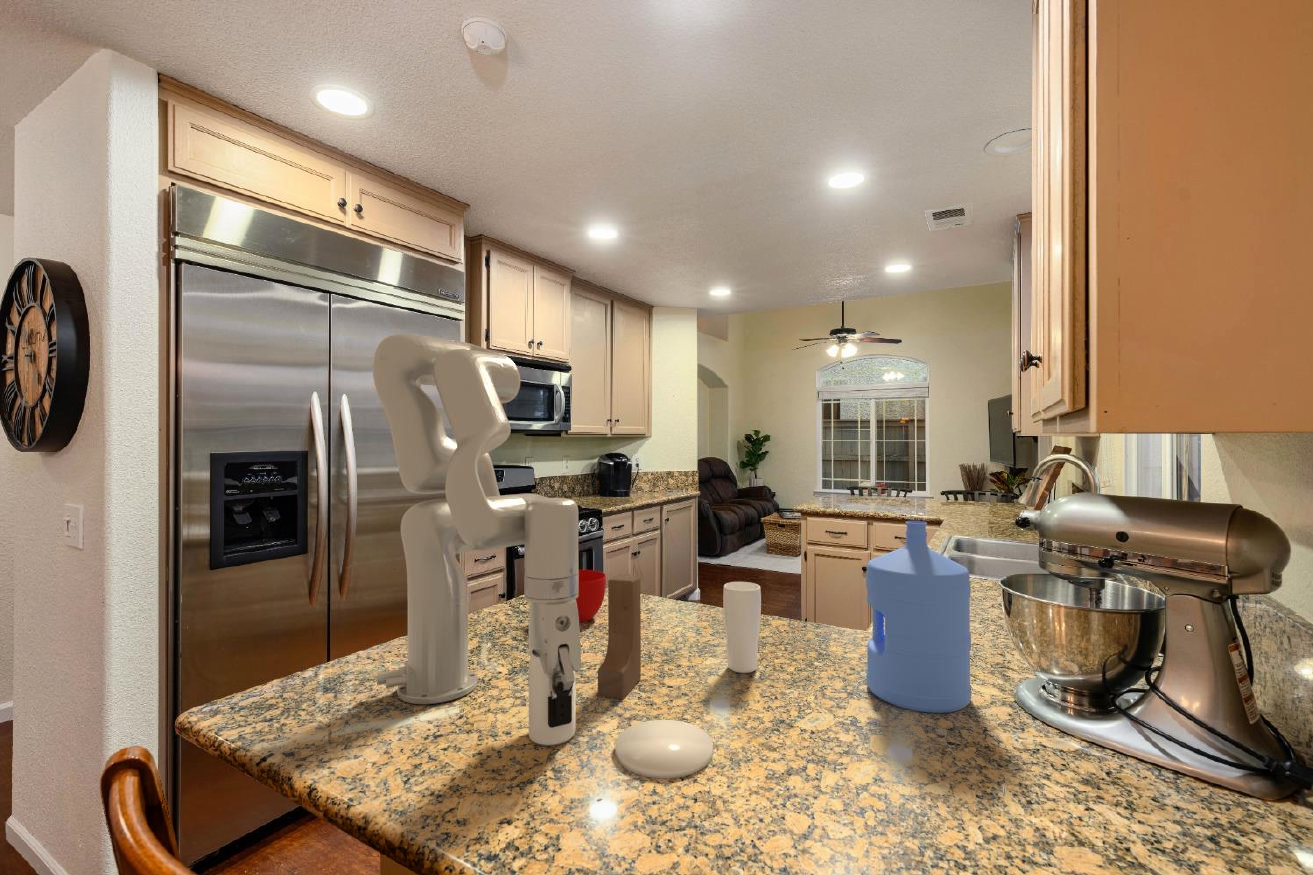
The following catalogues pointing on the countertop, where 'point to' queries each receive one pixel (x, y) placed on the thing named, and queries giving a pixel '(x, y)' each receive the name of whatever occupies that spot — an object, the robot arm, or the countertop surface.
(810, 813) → the countertop surface
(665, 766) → the white dome
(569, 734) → the can
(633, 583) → the wooden block
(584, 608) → the ceramic cup
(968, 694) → the water jug
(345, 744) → the countertop surface
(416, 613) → the robot arm
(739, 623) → the drinking glass
